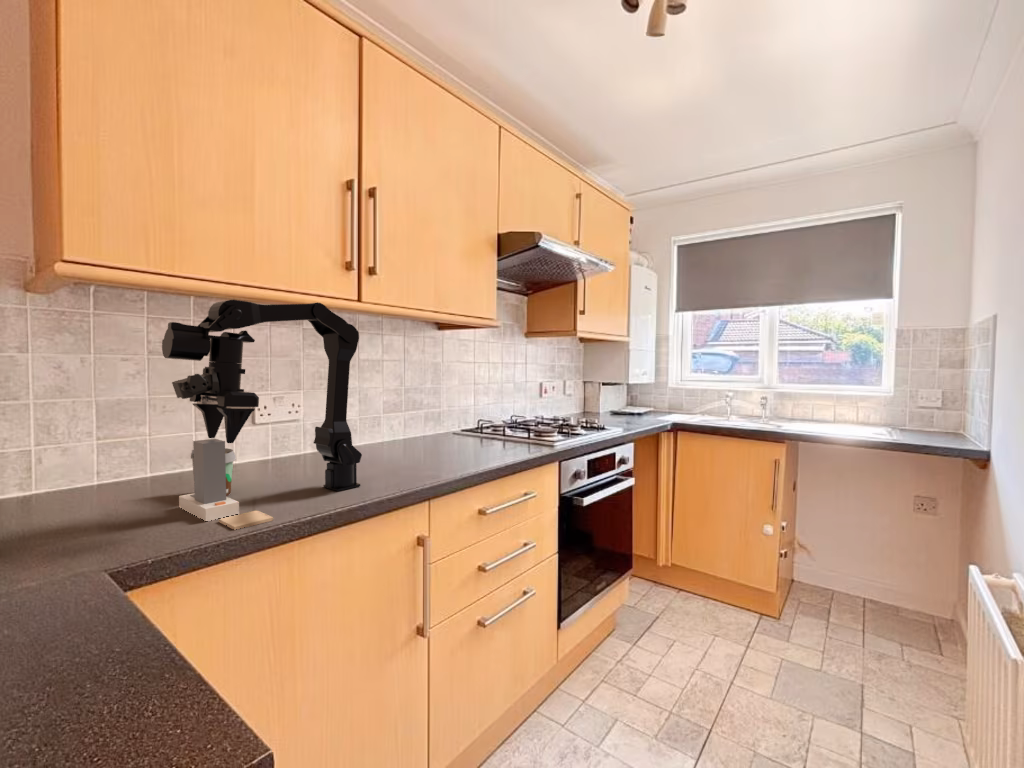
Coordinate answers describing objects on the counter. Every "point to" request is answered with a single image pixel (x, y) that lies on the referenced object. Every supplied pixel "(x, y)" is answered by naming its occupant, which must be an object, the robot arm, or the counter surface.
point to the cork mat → (245, 519)
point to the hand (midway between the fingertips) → (220, 440)
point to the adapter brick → (209, 470)
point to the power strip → (209, 507)
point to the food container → (229, 464)
